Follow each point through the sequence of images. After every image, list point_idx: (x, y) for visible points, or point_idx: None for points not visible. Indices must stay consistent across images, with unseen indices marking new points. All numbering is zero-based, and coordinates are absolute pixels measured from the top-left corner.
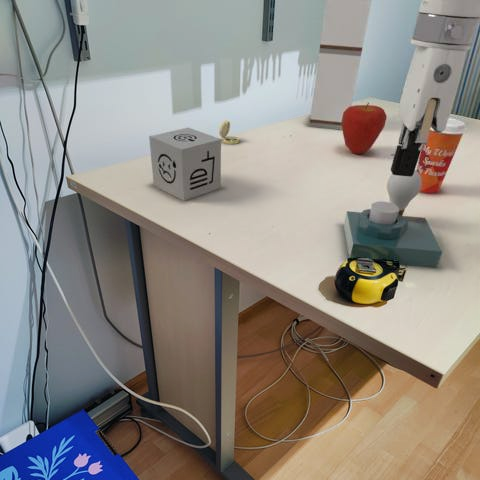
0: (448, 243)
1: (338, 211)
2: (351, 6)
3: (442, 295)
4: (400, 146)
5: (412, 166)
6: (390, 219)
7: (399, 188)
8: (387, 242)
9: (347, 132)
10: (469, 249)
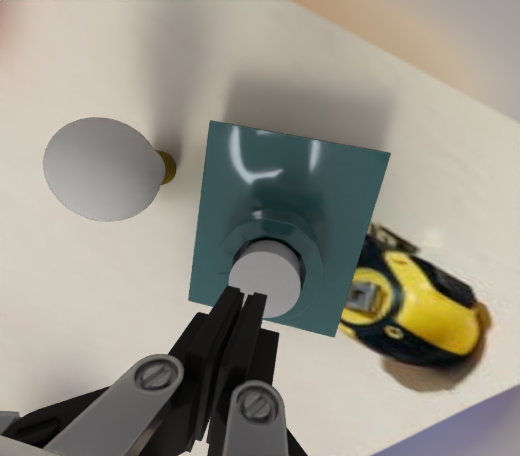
0: (272, 70)
1: (137, 273)
2: None
3: (484, 187)
4: (191, 441)
5: (259, 326)
6: (300, 274)
7: (145, 203)
8: (335, 268)
9: None
10: (303, 23)
